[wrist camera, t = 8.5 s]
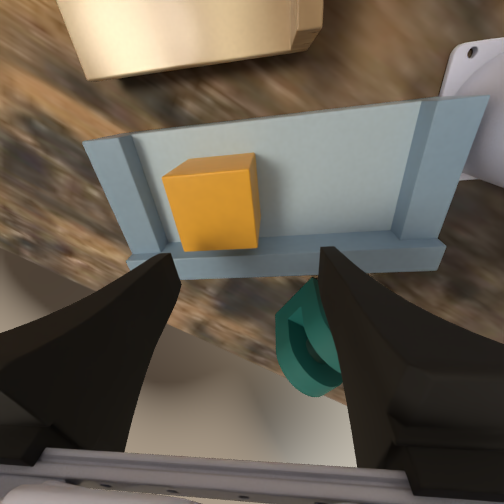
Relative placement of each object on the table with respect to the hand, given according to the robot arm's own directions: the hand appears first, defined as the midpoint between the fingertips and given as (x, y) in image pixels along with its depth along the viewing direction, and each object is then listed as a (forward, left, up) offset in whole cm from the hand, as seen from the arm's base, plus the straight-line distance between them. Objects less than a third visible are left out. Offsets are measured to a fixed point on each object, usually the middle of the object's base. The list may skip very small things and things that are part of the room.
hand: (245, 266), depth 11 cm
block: (+2, -2, -7) cm, 7 cm away
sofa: (-1, -1, -10) cm, 10 cm away
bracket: (-10, +17, -10) cm, 22 cm away
